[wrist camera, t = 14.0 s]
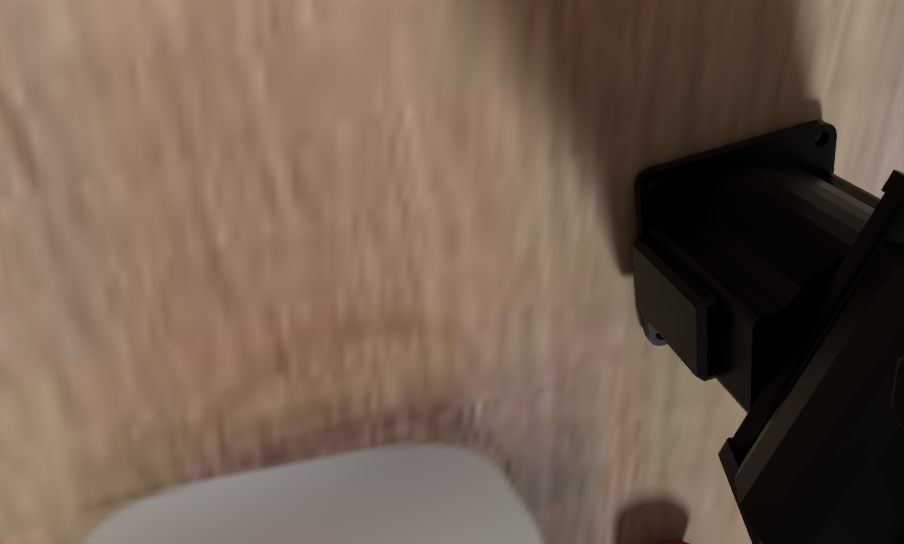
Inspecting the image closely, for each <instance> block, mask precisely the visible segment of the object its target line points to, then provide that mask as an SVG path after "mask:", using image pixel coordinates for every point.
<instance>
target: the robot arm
mask: <svg viewBox="0 0 904 544" xmlns="http://www.w3.org/2000/svg"><path fill="white" fill-rule="evenodd" d="M819 133H821V135H820V138H819V139H818V140H817V141H816V142H815V138H816V137H817V135H818V134H819ZM836 139H837V133H836V129H835V127H834V126H833V125H831V124H829V123H826V122H824V121H822V120H814V121H810V122H807V123H803V124H800V125H796V126H793V127H789V128H786V129H782V130H779V131H775V132H772V133H768V134H765V135H761V136H758V137H754V138H751V139H747V140H744V141H740V142H737V143H733V144H730V145H726V146H723V147H719V148H716V149H712V150H709V151H705V152H702V153H698V154H695V155H691V156H688V157H684V158H681V159H677V160H674V161H670V162H667V163H663V164H660V165H656V166H653V167H649V168H647V169H645V170H643V171H642V172H641V173H640V174H639V175H638V176H637V178H636V180H635V186H634V190H635V205H636V220H637V235H638V237H636V238H635V240H634V242H633V244H632V255H633V269H634V283H635V297H636V307H637V309H638V310H639V311H640V312H641V314H642V315H643V325H644V333H645V336H646V337H647V338H648V339H649V341H650V342H651V343H652V344H654V345H657V346H661V345H666V344H668V345H669V346H670V347H671V348H672V349H673V351H674V352H675V353H676V354H677V355H678V356H679V358H680V359H681V360H682V361H683V362H684V363H685V365H686V366H687V367H688V368H689V369H690V370H691V371H692V373H693V374H694V375H695V376H696V377H698V378H700V379H701V380H703V381H707V380H711V379H714V378H716V379H717V380H718V381H719V382H720V383H721V384H722V385H723V387H724V388H725V389H726V390H727V391H728V392H729V393H730V394H731V395H732V397H733V398H734V399H735V400H736V401H737V402H738V403H739V404H740V405H741V407H742V408H743V409H744V410H745V411H746V412H747V413H748V414H747V415H746V417H745V419H744V420H743V422H742V423H741V425H740V427H739V428H738V430H737V431H736V433H735V435H734V436H733V438H728V439H727V440H726V442H725V443H724V445H723V447H722V448H721V450H720V451H719V453H718V455H719V458H720V461H721V463H722V466H723V469H724V471H725V474H726V476H727V479H728V482H729V484H730V487H731V489H732V492H733V495H734V497H735V500H736V502H737V505H738V508H739V510H740V513H741V515H742V518H743V521H744V523H745V526H746V528H747V531H748V534H749V536H750V539H751V541H752V544H904V173H903V172H900V171H897V170H893V172H892V173H891V175H890V177H889V178H888V180H887V181H886V183H885V185H884V186H883V188H882V191H883V192H885V193H884V195H883V196H882V198H881V199H879V198H878V197H876V196H874V195H872V194H870V193H868V192H866V191H864V190H863V189H861V188H859V187H857V186H855V185H853V184H851V183H849V182H848V181H846V180H844V179H842V178H840V177H838V176H836V175H835V174H833V172H834V161H835V150H836ZM654 180H658V181H657V185H656V186H655V187H654V188H653V189H651V190H648V186H649V184H650V183H651V182H652V181H654ZM657 332H658V333H657Z"/></svg>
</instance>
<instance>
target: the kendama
mask: <svg viewBox="0 0 904 544" xmlns="http://www.w3.org/2000/svg"><path fill="white" fill-rule="evenodd" d="M660 544H689V543H686V542H684V541H681V540H673V541H669V542H665V543H660Z"/></svg>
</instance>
